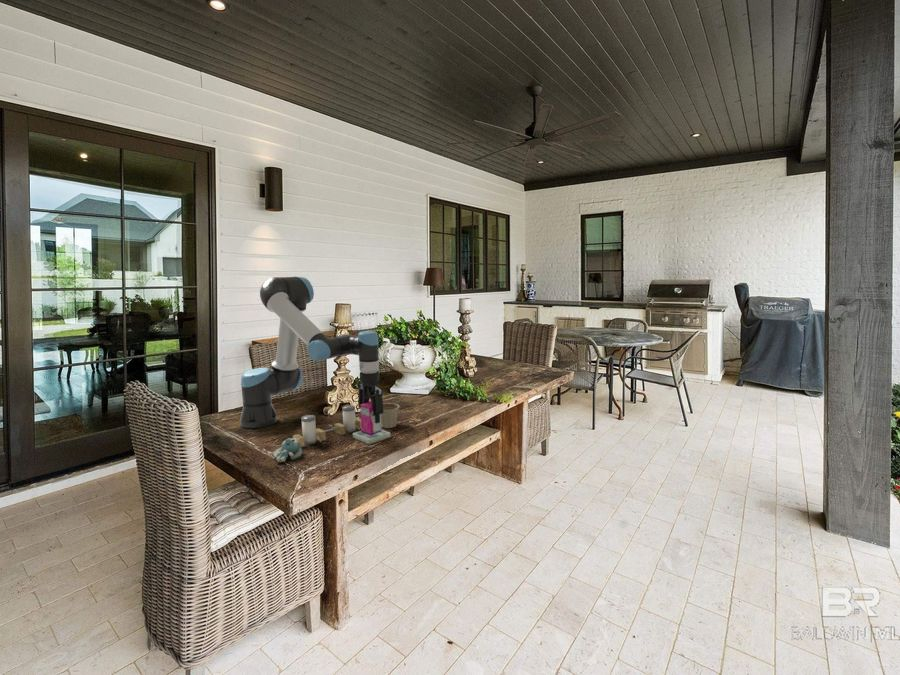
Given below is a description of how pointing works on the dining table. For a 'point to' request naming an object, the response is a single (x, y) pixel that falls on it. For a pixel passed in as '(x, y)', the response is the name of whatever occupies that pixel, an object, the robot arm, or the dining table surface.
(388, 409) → the flower pot
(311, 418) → the cylinder
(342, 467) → the dining table surface
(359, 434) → the tray
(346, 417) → the grey capped shaker
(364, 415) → the supplement box
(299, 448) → the stuffed animal
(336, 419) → the dining table surface
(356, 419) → the clip rail
